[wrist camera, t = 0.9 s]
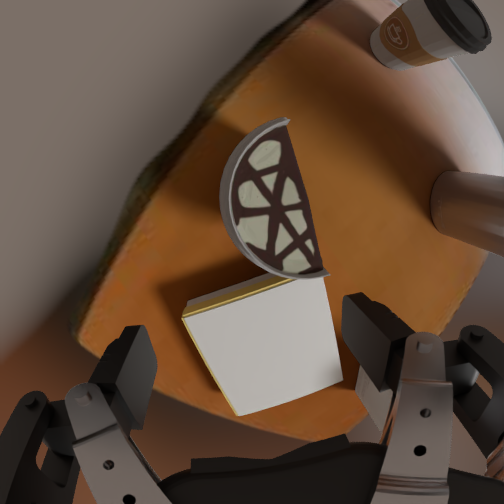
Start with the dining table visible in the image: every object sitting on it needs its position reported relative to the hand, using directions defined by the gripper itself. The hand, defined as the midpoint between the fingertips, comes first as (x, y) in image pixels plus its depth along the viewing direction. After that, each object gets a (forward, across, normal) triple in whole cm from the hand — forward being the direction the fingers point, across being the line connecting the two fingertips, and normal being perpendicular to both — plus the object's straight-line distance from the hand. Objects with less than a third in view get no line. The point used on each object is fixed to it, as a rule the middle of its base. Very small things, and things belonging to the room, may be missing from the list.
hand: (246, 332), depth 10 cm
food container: (+18, -2, -3) cm, 19 cm away
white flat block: (+18, -3, +13) cm, 23 cm away
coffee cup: (+19, -22, -22) cm, 36 cm away
